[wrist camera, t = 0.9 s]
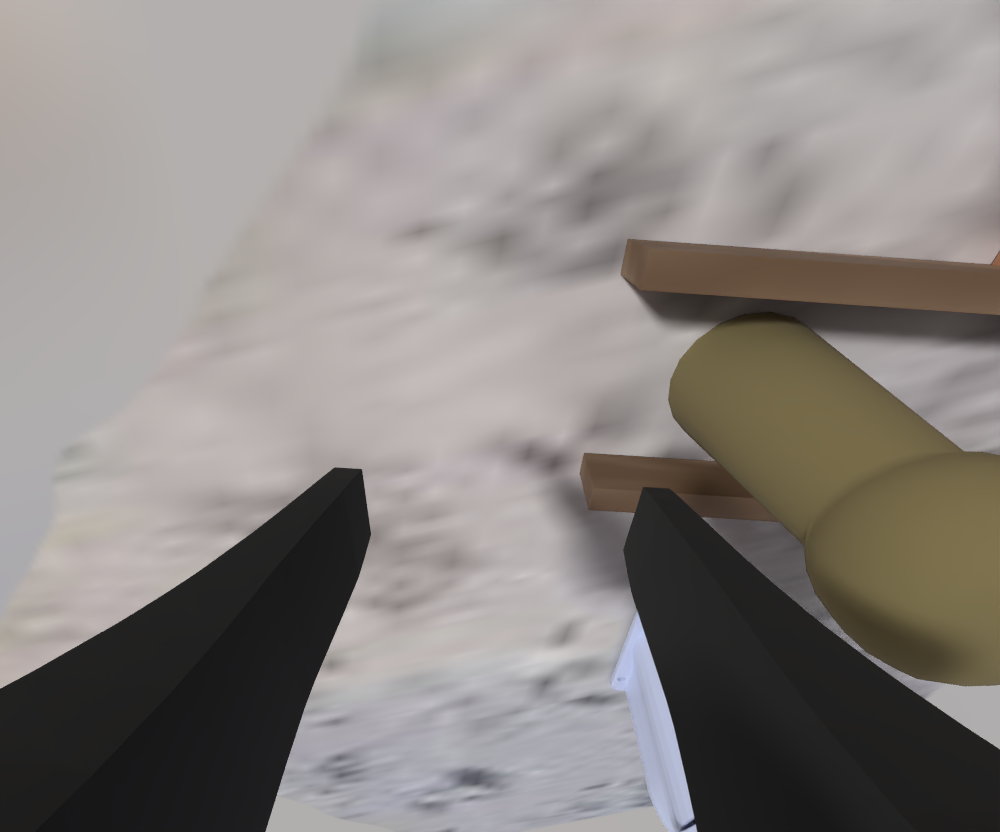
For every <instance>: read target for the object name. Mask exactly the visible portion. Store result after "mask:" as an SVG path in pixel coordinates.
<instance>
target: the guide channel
mask: <svg viewBox="0 0 1000 832" xmlns="http://www.w3.org/2000/svg"><path fill="white" fill-rule="evenodd" d="M621 275H622V276H623V277H624V278H625V279H627V280H628V281H629V282H630V283H632V284H633V285H634V286H635V287H636V288H638V289H639V290H644V291H659V292H673V293H688V294H702V295H717V296H731V297H746V298H760V299H775V300H789V301H804V302H818V303H833V304H847V305H862V306H876V307H891V308H905V309H920V310H934V311H949V312H963V313H978V314H993V315H1000V252H999V254H998V255H997V257H996V258H995V260H994V262H993V263H992V265H989V264H975V263H961V262H946V261H932V260H918V259H904V258H890V257H875V256H861V255H847V254H833V253H819V252H804V251H790V250H776V249H762V248H748V247H734V246H719V245H705V244H691V243H677V242H663V241H648V240H634V239H628V241H627V246H626V251H625V256H624V261H623V265H622V270H621ZM580 476H581V480H582V484H583V488H584V492H585V497H586V501H587V505H588V509H589V510H598V511H614V512H630V513H635V511H636V508H637V505H638V502H639V498H640V495H641V492H642V489H643V487H654V488H670V489H671V490H672V491H673V492H674V493H675V494H677V495H678V496H679V497H680V498H681V499H682V500H683V501H684V502H685V503H686V504H687V505H689V506H690V507H691V508H692V509H693V510H694V511H695V512H696V513H697V514H698V515H699V516H700V517H711V518H728V519H744V520H760V521H776V522H779V521H778V520H777V519H776V518H775V517H774V516H773V515H772V514H771V513H770V512H769V511H768V510H766V509H765V508H764V507H763V506H762V505H761V504H760V503H759V502H758V501H757V500H756V499H755V498H754V497H753V496H752V495H751V494H750V493H749V492H748V491H747V490H746V489H745V488H743V487H742V486H741V485H740V484H739V483H738V482H737V481H736V480H735V479H734V478H733V477H732V476H731V475H730V474H729V473H728V472H727V471H726V470H725V469H724V468H723V467H722V466H720V465H719V464H718V463H717V462H716V461H702V460H686V459H670V458H655V457H639V456H623V455H607V454H592V453H584V456H583V461H582V465H581V470H580Z"/></svg>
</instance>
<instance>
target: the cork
mask: <svg viewBox="0 0 1000 832" xmlns="http://www.w3.org/2000/svg"><path fill="white" fill-rule="evenodd" d="M668 400H669V404H670V408H671V411H672V415H673V418H674V419H675V420H676V421H677V423H678V424H679V425H680V426H681V428H682V429H683V430H684V431H685V432H686V433H687V434H688V435H689V436H690V437H691V438H692V439H693V440H694V441H695V442H696V443H697V444H698V445H700V446H701V447H702V448H703V449H704V450H705V451H706V452H707V453H708V454H709V455H710V456H711V457H712V458H713V459H714V460H715V461H716V462H717V463H718V464H719V465H720V466H722V467H723V468H724V469H725V470H726V471H727V472H728V473H729V474H730V475H731V476H732V477H733V478H734V479H735V480H736V481H737V482H738V483H739V484H740V485H741V486H742V487H743V488H745V489H746V490H747V491H748V492H749V493H750V494H751V495H752V496H753V497H754V498H755V499H756V500H757V501H758V502H759V503H760V504H761V505H762V506H763V507H764V508H765V509H766V510H768V511H769V512H770V513H771V514H772V515H773V516H774V517H775V518H776V519H777V520H778V521H779V522H780V523H781V524H782V525H783V526H784V527H785V528H786V529H787V530H788V531H789V532H791V533H792V534H793V535H794V536H795V537H796V538H797V539H798V540H799V541H800V542H801V543H802V544H803V545H804V546H805V561H806V570H807V573H808V576H809V578H810V581H811V583H812V586H813V588H814V591H815V593H816V595H817V596H818V598H819V599H820V601H821V602H822V603H823V605H824V606H825V608H826V609H827V610H828V612H829V613H830V615H831V616H832V617H833V618H834V620H835V621H836V622H837V623H838V625H839V626H840V627H841V628H842V630H843V631H844V632H845V633H846V634H847V635H848V636H849V637H850V638H852V639H853V640H854V641H855V642H856V643H857V644H858V645H859V646H860V647H861V648H863V649H864V650H865V651H866V652H867V653H868V654H870V655H872V656H874V657H876V658H877V659H879V660H881V661H883V662H884V663H886V664H888V665H890V666H892V667H893V668H895V669H897V670H899V671H901V672H903V673H906V674H908V675H910V676H912V677H914V678H916V679H921V680H927V681H934V682H940V683H947V684H954V685H960V686H990V685H1000V455H995V454H990V453H985V452H965V451H963V450H962V449H960V448H959V447H958V446H957V445H955V444H954V443H953V442H952V441H950V440H949V439H948V438H947V437H945V436H944V435H943V434H942V433H940V432H939V431H938V430H936V429H935V428H934V427H933V426H931V425H930V424H929V423H928V422H926V421H925V420H924V419H923V418H921V417H920V416H919V415H918V414H916V413H915V412H914V411H913V410H911V409H910V408H909V407H908V406H906V405H905V404H904V403H903V402H901V401H900V400H899V399H898V398H896V397H895V396H894V395H893V394H891V393H890V392H889V391H888V390H886V389H885V388H884V387H883V386H881V385H880V384H879V383H878V382H876V381H875V380H874V379H873V378H871V377H870V376H869V375H868V374H866V373H865V372H864V371H863V370H861V369H860V368H859V367H858V366H856V365H855V364H854V363H852V362H851V361H850V360H849V359H847V358H846V357H845V356H844V355H842V354H841V353H840V352H839V351H837V350H836V349H835V348H834V347H832V346H831V345H830V344H829V343H827V342H826V341H825V340H824V339H822V338H821V337H820V336H819V335H817V334H816V333H815V332H814V331H812V330H811V329H810V328H808V327H807V326H805V325H804V324H803V323H801V322H800V321H798V320H797V319H796V318H794V317H791V316H786V315H782V314H777V313H773V312H766V313H756V314H746V315H742V316H740V317H737V318H735V319H732V320H729V321H727V322H724V323H722V324H719V325H718V326H716V327H715V328H713V329H712V330H710V331H709V332H708V333H706V334H705V335H703V336H702V337H700V338H699V339H698V340H696V342H695V343H694V344H693V345H692V346H691V347H690V349H689V350H688V351H687V352H686V353H685V354H684V355H683V357H682V358H681V359H680V361H679V363H678V365H677V367H676V369H675V372H674V374H673V376H672V378H671V381H670V390H669V399H668Z"/></svg>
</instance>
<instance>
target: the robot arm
mask: <svg viewBox="0 0 1000 832" xmlns="http://www.w3.org/2000/svg"><path fill="white" fill-rule="evenodd" d="M370 536H371V531H370V524H369V517H368V510H367V503H366V495H365V488H364V481H363V474H362V469H351V468H334V469H332V470H331V471H330V472H328V473H327V474H326V475H325V476H323V477H322V478H321V479H320V480H318V481H317V482H316V483H315V484H313V485H312V486H311V487H310V488H308V489H307V490H306V491H305V492H304V493H302V494H301V495H300V496H299V497H297V498H296V499H295V500H294V501H292V502H291V503H290V504H289V505H287V506H286V507H285V508H284V509H282V510H281V511H280V512H279V513H277V514H276V515H275V516H273V517H272V518H271V519H270V520H268V521H267V522H266V523H264V524H263V525H262V526H261V527H259V528H258V529H257V530H255V531H254V532H253V533H251V534H250V535H249V536H247V537H246V538H245V539H243V540H242V541H240V542H239V543H238V544H236V545H235V546H234V547H232V548H231V549H229V550H228V551H227V552H225V553H224V554H222V555H221V556H220V557H218V558H217V559H216V560H214V561H213V562H211V563H210V564H209V565H207V566H206V567H204V568H203V569H202V570H200V571H199V572H197V573H196V574H194V575H193V576H191V577H190V578H188V579H187V580H185V581H184V582H182V583H181V584H179V585H178V586H176V587H175V588H173V589H172V590H170V591H169V592H167V593H165V594H164V595H162V596H161V597H159V598H158V599H156V600H154V601H153V602H151V603H150V604H148V605H146V606H145V607H143V608H142V609H140V610H138V611H137V612H135V613H134V614H132V615H130V616H129V617H127V618H125V619H124V620H122V621H120V622H119V623H117V624H115V625H114V626H112V627H110V628H108V629H107V630H105V631H103V632H101V633H100V634H98V635H96V636H94V637H93V638H91V639H89V640H87V641H86V642H84V643H82V644H80V645H79V646H77V647H75V648H73V649H71V650H70V651H68V652H66V653H64V654H63V655H61V656H59V657H57V658H56V659H54V660H52V661H50V662H49V663H47V664H45V665H43V666H42V667H40V668H38V669H36V670H35V671H33V672H31V673H29V674H27V675H25V676H23V677H22V678H20V679H18V680H16V681H14V682H12V683H10V684H8V685H6V686H5V687H3V688H1V689H0V832H265V831H266V828H267V825H268V821H269V818H270V815H271V812H272V808H273V805H274V802H275V799H276V796H277V792H278V789H279V786H280V783H281V779H282V776H283V773H284V770H285V766H286V763H287V760H288V757H289V754H290V751H291V748H292V745H293V742H294V739H295V736H296V733H297V730H298V727H299V724H300V720H301V717H302V714H303V711H304V708H305V705H306V703H307V700H308V697H309V695H310V692H311V690H312V687H313V684H314V682H315V679H316V677H317V674H318V672H319V670H320V667H321V665H322V663H323V660H324V658H325V656H326V653H327V651H328V649H329V646H330V644H331V642H332V639H333V637H334V635H335V632H336V630H337V627H338V625H339V623H340V620H341V618H342V616H343V613H344V611H345V609H346V606H347V604H348V601H349V599H350V597H351V594H352V592H353V589H354V587H355V585H356V582H357V580H358V577H359V574H360V571H361V568H362V564H363V561H364V558H365V554H366V550H367V547H368V543H369V540H370ZM624 555H625V561H626V567H627V572H628V577H629V582H630V587H631V592H632V595H633V599H634V602H635V605H636V608H637V611H636V614H635V617H634V619H633V622H632V625H631V627H630V630H629V633H628V635H627V638H626V641H625V643H624V646H623V649H622V651H621V654H620V656H619V659H618V662H617V664H616V667H615V670H614V672H613V675H612V678H611V680H610V684H611V688H612V689H614V690H621V691H626V695H627V700H628V704H629V709H630V713H631V717H632V722H633V726H634V730H635V735H636V739H637V744H638V748H639V752H640V757H641V761H642V766H643V770H644V774H645V779H646V783H647V787H648V791H649V795H650V798H651V801H652V803H653V806H654V808H655V810H656V812H657V814H658V816H659V818H660V819H661V821H662V823H663V824H664V826H665V827H666V828H667V830H668V831H669V832H1000V749H998V748H997V747H995V746H994V745H992V744H991V743H989V742H988V741H986V740H984V739H983V738H981V737H980V736H978V735H977V734H975V733H974V732H972V731H971V730H969V729H968V728H966V727H965V726H963V725H962V724H960V723H958V722H957V721H956V720H954V719H953V718H951V717H950V716H948V715H947V714H946V713H944V712H943V711H941V710H940V709H938V708H937V707H935V706H934V705H932V704H931V703H930V702H928V701H927V700H925V699H924V698H922V697H921V696H919V695H918V694H916V693H915V692H913V691H912V690H911V689H909V688H908V687H906V686H905V685H903V684H902V683H901V682H899V681H898V680H896V679H895V678H894V677H892V676H891V675H889V674H888V673H887V672H885V671H884V670H882V669H881V668H880V667H878V666H877V665H875V664H874V663H873V662H871V661H870V660H869V659H867V658H866V657H865V656H863V655H862V654H861V653H860V652H858V651H857V650H856V649H854V648H853V647H852V646H850V645H849V644H848V643H846V642H845V641H844V640H842V639H841V638H840V637H838V636H837V635H836V634H834V633H833V632H832V631H830V630H829V629H828V628H827V627H825V626H824V625H823V624H822V623H820V622H819V621H818V620H817V619H815V618H814V617H813V616H812V615H810V614H809V613H808V612H807V611H805V610H804V609H803V608H802V607H801V606H799V605H798V604H797V603H796V602H795V601H793V600H792V599H791V598H790V597H789V596H788V595H786V594H785V593H784V592H783V591H782V590H780V589H779V588H778V587H777V586H776V585H774V584H773V583H772V582H771V581H770V580H769V579H768V578H766V577H765V576H764V575H763V574H762V573H761V572H760V571H758V570H757V569H756V568H755V567H754V566H753V565H752V564H751V563H749V562H748V561H747V560H746V559H745V558H744V557H743V556H742V555H741V554H740V553H739V552H737V551H736V550H735V549H734V548H733V547H732V546H731V545H730V544H729V543H728V542H727V541H726V540H724V539H723V538H722V537H721V536H720V535H719V534H718V533H717V532H716V531H715V530H714V529H713V528H712V527H711V526H710V525H709V524H708V523H706V522H705V521H704V520H703V519H702V518H701V517H700V516H699V515H698V514H697V513H696V512H695V511H694V510H693V509H692V508H691V507H690V506H689V505H687V504H686V503H685V502H684V501H683V500H682V499H681V498H680V497H679V496H678V495H677V494H675V493H674V492H673V491H672V490H671V489H670V488H654V487H643V489H642V492H641V495H640V498H639V502H638V505H637V508H636V511H635V514H634V518H633V521H632V524H631V527H630V530H629V534H628V537H627V540H626V543H625V546H624Z"/></svg>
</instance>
